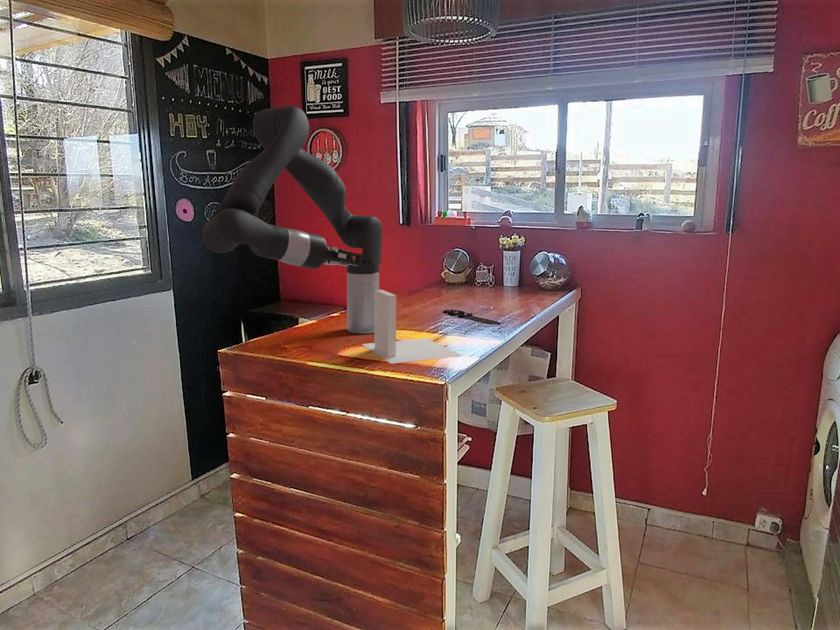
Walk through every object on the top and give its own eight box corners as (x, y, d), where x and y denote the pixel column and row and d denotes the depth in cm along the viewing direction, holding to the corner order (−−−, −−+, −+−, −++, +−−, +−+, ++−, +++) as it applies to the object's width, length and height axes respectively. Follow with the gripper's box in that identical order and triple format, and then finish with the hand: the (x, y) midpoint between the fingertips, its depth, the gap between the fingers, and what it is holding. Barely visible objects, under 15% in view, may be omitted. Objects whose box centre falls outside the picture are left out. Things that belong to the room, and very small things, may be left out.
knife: (504, 326, 189) (504, 321, 189) (488, 328, 186) (488, 323, 185) (455, 312, 210) (455, 308, 209) (440, 314, 206) (440, 309, 206)
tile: (374, 348, 153) (374, 290, 150) (382, 347, 154) (382, 289, 151) (387, 357, 145) (388, 295, 142) (395, 356, 146) (396, 295, 143)
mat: (361, 347, 158) (361, 344, 158) (426, 340, 166) (426, 338, 166) (390, 366, 140) (391, 363, 140) (462, 358, 148) (462, 355, 148)
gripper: (319, 231, 125) (382, 248, 135) (287, 231, 136) (348, 247, 146) (313, 267, 125) (376, 281, 135) (282, 264, 136) (342, 277, 146)
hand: (361, 263), depth 140 cm, fingers open, 8 cm apart
